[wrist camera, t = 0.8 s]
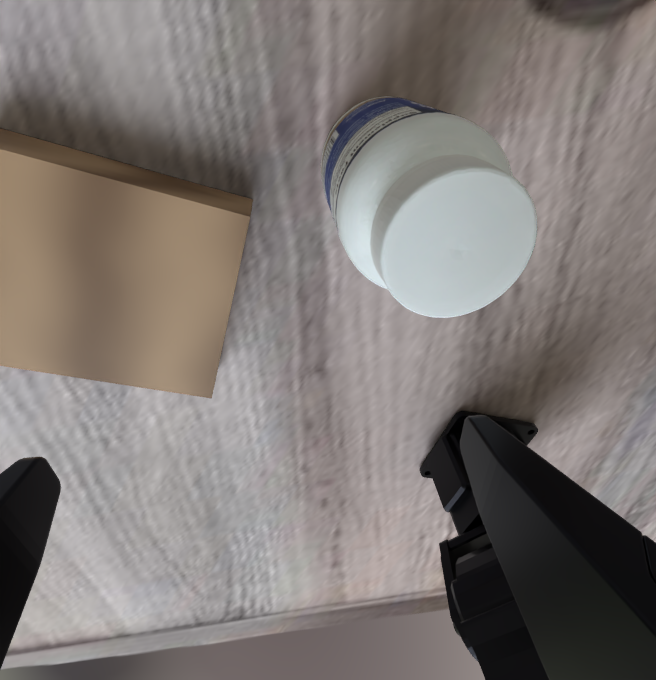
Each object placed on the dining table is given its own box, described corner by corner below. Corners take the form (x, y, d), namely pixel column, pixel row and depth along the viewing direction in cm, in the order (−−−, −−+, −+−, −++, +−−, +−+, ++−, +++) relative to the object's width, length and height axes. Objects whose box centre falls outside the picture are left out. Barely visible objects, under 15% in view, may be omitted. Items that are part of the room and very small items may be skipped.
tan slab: (252, 199, 18) (250, 216, 16) (217, 369, 24) (211, 398, 22) (-5, 126, 16) (-45, 137, 14) (18, 335, 21) (-8, 364, 19)
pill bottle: (459, 175, 19) (595, 265, 11) (363, 246, 20) (419, 370, 12) (400, 61, 16) (522, 68, 8) (293, 152, 17) (308, 234, 10)
